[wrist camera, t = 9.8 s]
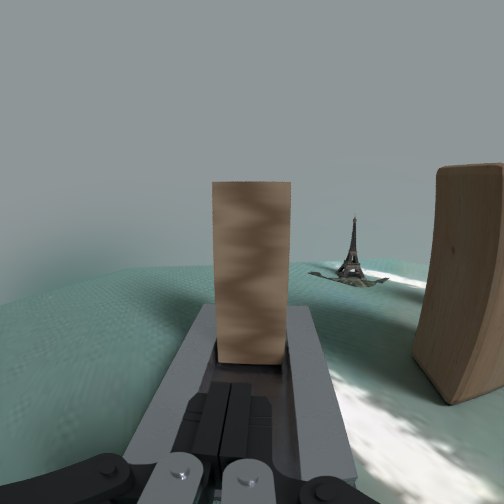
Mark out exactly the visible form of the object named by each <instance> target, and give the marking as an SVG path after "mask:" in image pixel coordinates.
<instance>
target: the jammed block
mask: <svg viewBox="0 0 504 504" xmlns="http://www.w3.org/2000/svg"><path fill="white" fill-rule="evenodd" d="M212 186H213V187H212V198H213V200H212V203H213V205H212V206H213V257H214V286H215V309H216V328H217V345H218V361H219V362H221V363H239V364H274V365H284V351H285V335H286V318H287V299H288V277H289V250H290V248H289V247H290V208H291V182H212Z"/></svg>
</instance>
